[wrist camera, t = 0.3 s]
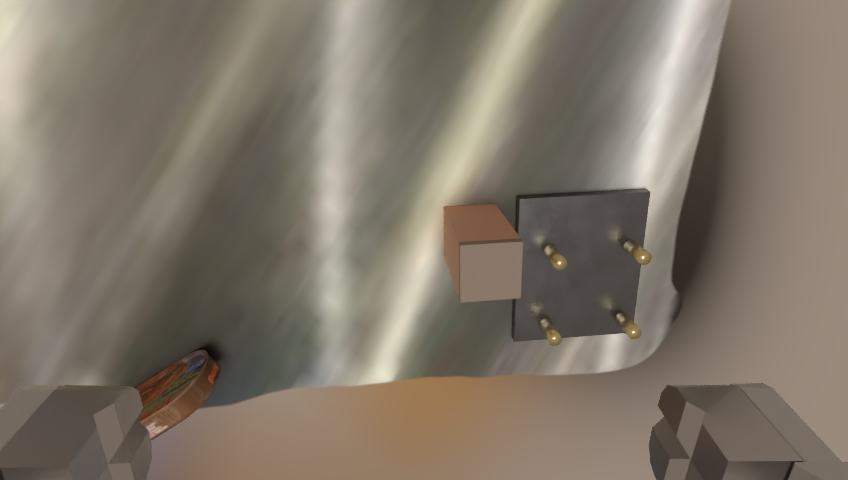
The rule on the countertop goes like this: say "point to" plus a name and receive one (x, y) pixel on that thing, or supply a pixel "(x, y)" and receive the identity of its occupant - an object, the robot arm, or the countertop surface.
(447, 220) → the block
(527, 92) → the countertop surface
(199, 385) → the tin
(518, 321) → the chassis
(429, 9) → the countertop surface
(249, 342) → the countertop surface
